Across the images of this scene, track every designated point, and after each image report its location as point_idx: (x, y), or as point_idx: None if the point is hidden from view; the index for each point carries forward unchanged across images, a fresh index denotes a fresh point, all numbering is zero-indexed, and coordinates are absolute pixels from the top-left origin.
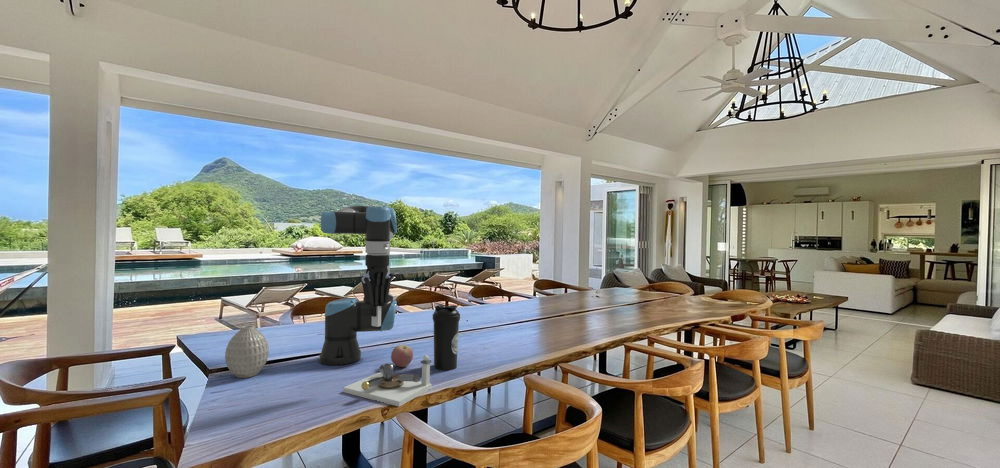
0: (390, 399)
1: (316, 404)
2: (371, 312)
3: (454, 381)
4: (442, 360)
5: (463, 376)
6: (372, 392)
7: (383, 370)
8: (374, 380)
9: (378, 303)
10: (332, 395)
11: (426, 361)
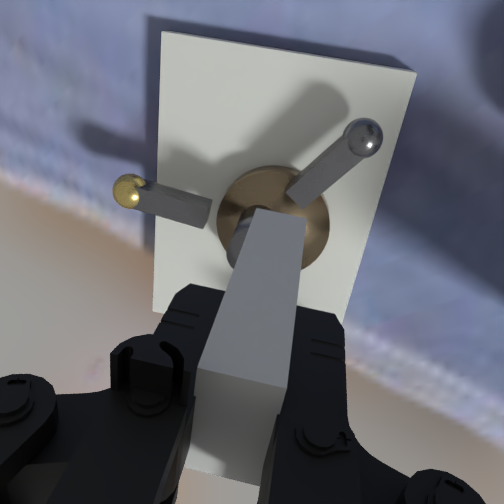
0: (154, 279)
1: (19, 9)
2: (160, 329)
3: (424, 380)
4: None
5: (486, 393)
6: None
7: (298, 183)
8: (167, 214)
9: (260, 486)
10: (118, 5)
11: None
